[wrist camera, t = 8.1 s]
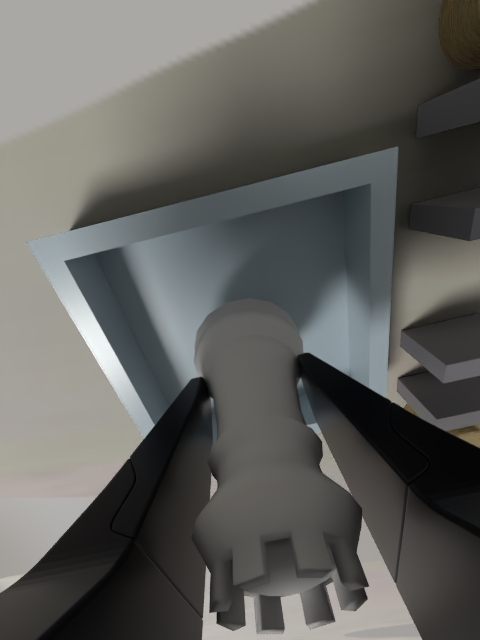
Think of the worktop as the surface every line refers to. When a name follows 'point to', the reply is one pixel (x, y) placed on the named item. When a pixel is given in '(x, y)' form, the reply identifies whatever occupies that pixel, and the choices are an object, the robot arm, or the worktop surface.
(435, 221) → the grey small pieces
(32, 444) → the worktop surface
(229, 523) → the rook chess piece
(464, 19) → the brass peg
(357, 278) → the tray
